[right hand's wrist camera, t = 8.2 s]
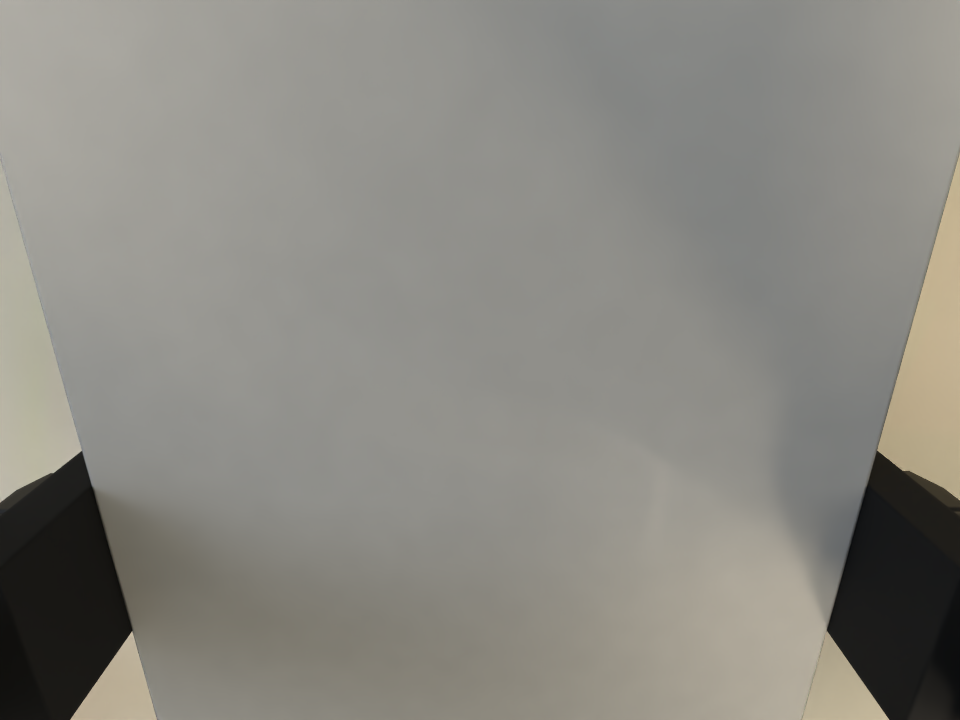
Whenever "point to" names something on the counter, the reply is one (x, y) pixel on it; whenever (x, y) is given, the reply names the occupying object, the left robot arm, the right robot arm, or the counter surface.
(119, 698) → the counter surface
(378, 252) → the cabinet
